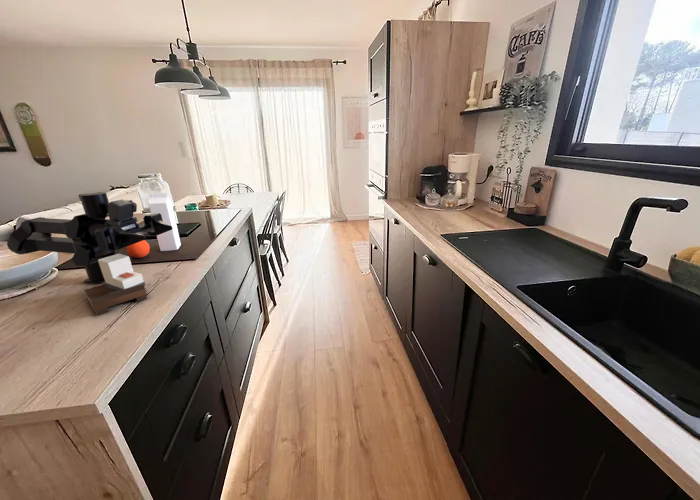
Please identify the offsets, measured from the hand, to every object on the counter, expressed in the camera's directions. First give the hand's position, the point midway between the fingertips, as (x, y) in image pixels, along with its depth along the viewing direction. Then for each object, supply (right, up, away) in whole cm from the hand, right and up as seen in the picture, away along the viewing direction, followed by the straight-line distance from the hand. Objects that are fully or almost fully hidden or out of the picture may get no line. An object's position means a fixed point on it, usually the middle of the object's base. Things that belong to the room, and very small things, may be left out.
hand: (159, 232), depth 79 cm
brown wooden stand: (-10, -18, -1) cm, 21 cm away
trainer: (-9, -15, -1) cm, 17 cm away
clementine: (-25, -8, +28) cm, 38 cm away
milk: (-19, -4, +36) cm, 41 cm away
